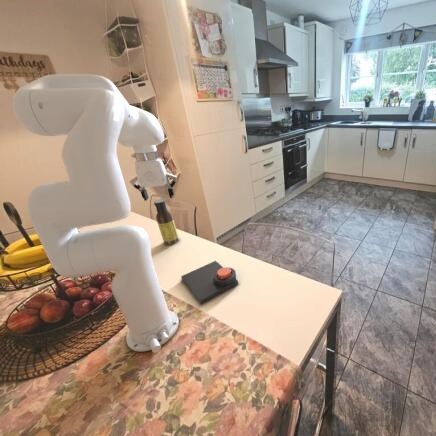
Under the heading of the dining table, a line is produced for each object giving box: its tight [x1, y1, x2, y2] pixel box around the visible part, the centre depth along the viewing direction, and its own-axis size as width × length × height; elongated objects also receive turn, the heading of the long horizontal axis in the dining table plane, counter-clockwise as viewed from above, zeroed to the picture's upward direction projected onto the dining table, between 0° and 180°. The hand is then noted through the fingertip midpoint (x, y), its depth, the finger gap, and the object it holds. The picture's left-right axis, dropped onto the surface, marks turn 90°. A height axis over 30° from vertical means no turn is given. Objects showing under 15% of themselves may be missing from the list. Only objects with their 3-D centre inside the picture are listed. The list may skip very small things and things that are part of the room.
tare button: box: [217, 267, 231, 279], centre depth 82 cm, size 4×4×2 cm
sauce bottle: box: [153, 198, 179, 246], centre depth 105 cm, size 6×6×20 cm
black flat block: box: [180, 260, 239, 305], centre depth 83 cm, size 16×14×4 cm
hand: (159, 198), depth 100 cm, fingers open, 9 cm apart
